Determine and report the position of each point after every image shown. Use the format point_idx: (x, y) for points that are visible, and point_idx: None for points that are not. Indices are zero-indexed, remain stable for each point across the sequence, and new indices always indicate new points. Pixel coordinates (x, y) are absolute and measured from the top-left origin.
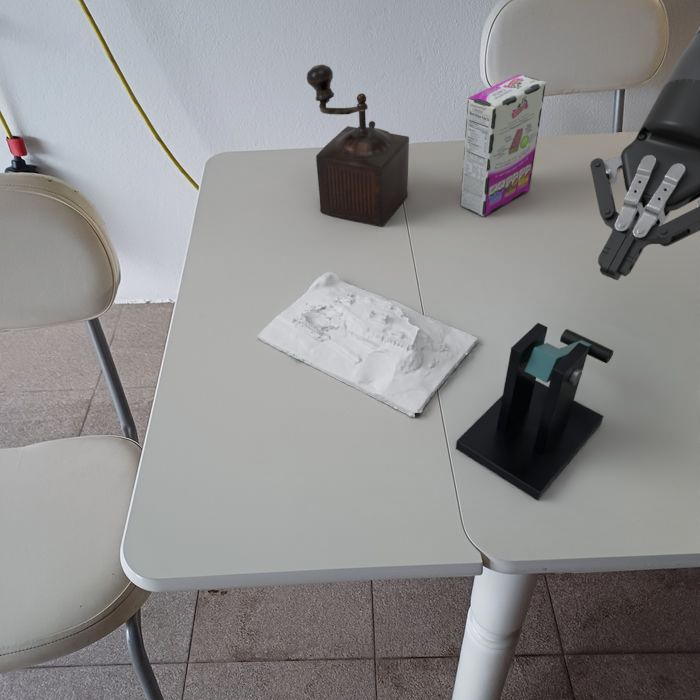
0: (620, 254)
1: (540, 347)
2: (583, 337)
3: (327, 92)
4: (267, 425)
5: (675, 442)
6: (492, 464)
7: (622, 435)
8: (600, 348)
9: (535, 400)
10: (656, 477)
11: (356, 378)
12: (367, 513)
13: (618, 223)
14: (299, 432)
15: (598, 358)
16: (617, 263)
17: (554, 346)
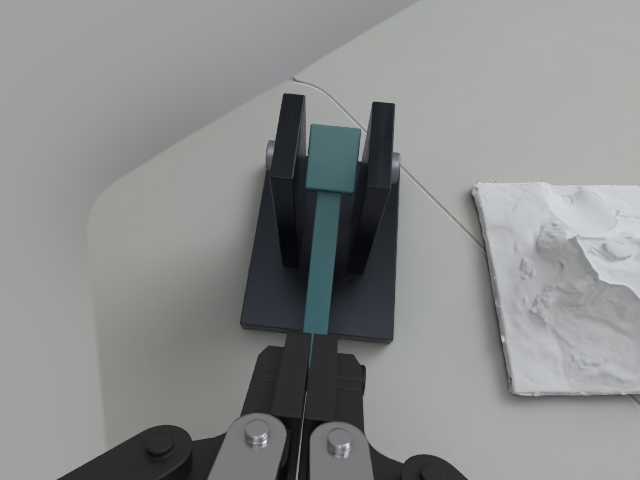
0: (295, 365)
1: (352, 143)
2: None
3: None
4: (605, 85)
5: (128, 359)
6: None
7: (206, 325)
8: None
9: (346, 293)
10: (143, 276)
11: (591, 190)
12: (421, 58)
13: (355, 442)
14: (567, 97)
15: None
16: (293, 345)
17: (336, 189)
